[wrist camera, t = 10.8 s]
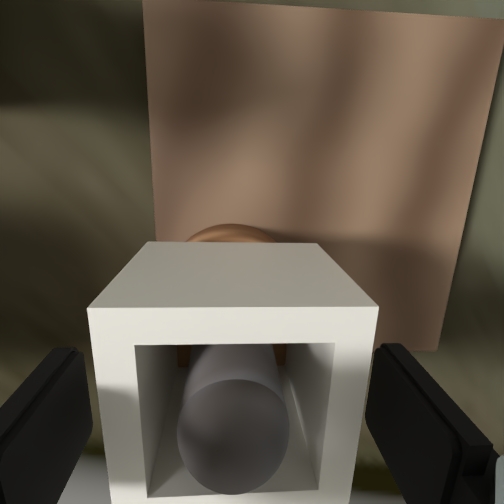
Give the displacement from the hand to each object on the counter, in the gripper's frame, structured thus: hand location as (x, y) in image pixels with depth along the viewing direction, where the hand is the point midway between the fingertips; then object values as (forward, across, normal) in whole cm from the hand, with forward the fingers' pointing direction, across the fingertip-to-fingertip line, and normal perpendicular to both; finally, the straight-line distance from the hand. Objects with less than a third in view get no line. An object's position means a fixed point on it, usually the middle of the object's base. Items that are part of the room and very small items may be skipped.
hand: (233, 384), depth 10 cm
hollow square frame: (+4, 0, 0) cm, 4 cm away
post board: (+10, -4, -4) cm, 12 cm away
